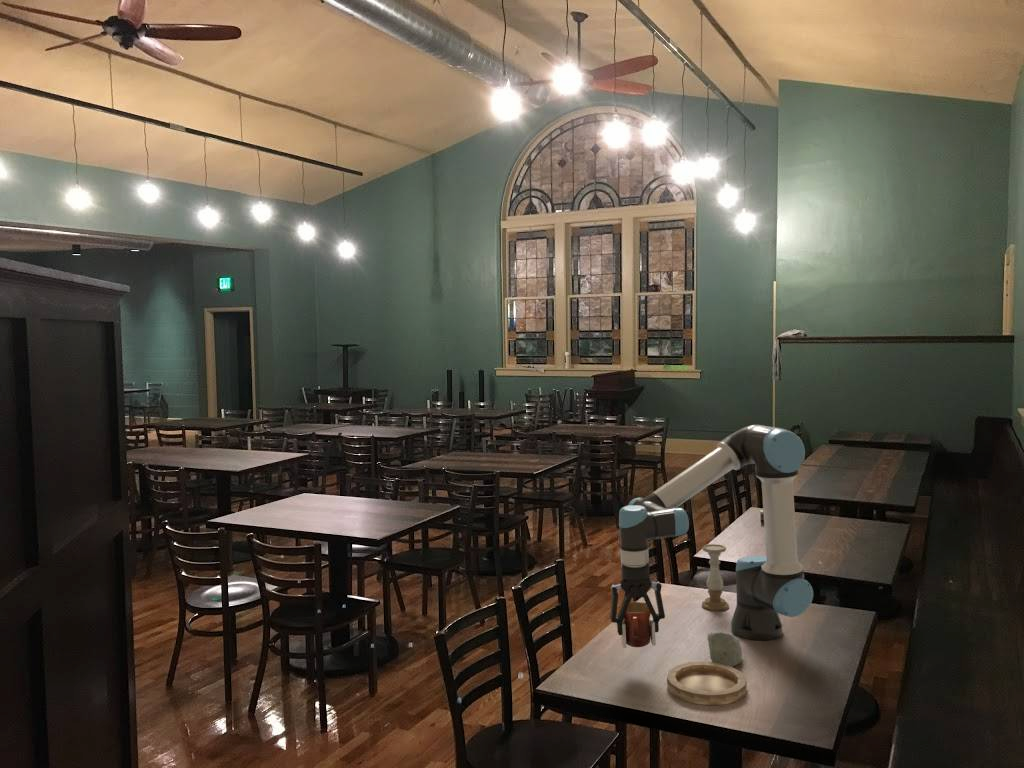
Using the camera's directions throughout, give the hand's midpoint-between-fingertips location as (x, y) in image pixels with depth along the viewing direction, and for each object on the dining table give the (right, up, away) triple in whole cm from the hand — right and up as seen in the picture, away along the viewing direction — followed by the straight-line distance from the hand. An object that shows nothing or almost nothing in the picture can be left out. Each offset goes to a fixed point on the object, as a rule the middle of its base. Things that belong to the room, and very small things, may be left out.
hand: (638, 644), depth 230 cm
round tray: (+16, -8, -10) cm, 21 cm away
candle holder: (+33, -3, +50) cm, 60 cm away
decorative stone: (+26, -7, +7) cm, 27 cm away
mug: (0, -1, 0) cm, 1 cm away
